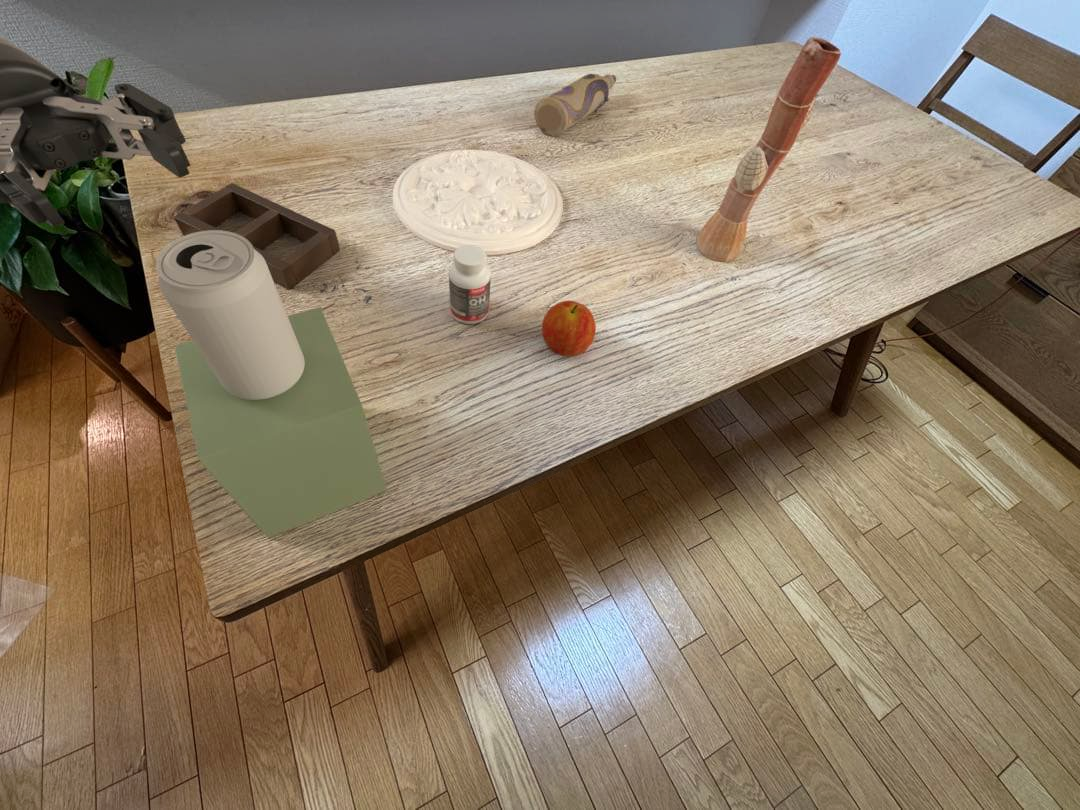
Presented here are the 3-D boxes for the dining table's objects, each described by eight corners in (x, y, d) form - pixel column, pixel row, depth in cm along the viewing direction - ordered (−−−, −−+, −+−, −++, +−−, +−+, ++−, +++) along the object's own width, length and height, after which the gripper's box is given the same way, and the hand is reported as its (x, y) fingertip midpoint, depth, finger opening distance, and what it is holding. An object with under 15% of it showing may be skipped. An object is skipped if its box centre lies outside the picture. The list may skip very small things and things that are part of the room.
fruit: (528, 344, 69) (534, 300, 62) (563, 320, 72) (573, 276, 66) (565, 375, 66) (575, 333, 60) (600, 349, 70) (613, 307, 63)
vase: (708, 266, 83) (808, 57, 58) (684, 238, 86) (768, 30, 62) (759, 254, 86) (874, 52, 62) (733, 228, 90) (832, 27, 65)
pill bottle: (475, 331, 69) (475, 275, 61) (442, 314, 70) (438, 257, 62) (496, 308, 72) (499, 251, 64) (464, 292, 73) (463, 234, 65)
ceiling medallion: (586, 187, 92) (590, 171, 89) (517, 278, 76) (519, 261, 73) (449, 138, 96) (448, 120, 93) (357, 214, 80) (353, 195, 78)
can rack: (289, 290, 70) (282, 270, 67) (184, 238, 73) (172, 216, 70) (340, 250, 75) (335, 230, 72) (240, 203, 79) (231, 182, 76)
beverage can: (252, 336, 44) (191, 215, 35) (322, 356, 44) (279, 239, 34) (205, 392, 41) (122, 274, 31) (281, 414, 40) (220, 302, 31)
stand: (387, 490, 55) (361, 404, 42) (268, 538, 50) (198, 459, 37) (353, 405, 60) (320, 306, 47) (242, 442, 56) (174, 345, 43)
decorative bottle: (562, 143, 99) (567, 107, 94) (531, 129, 101) (534, 92, 96) (626, 100, 113) (634, 66, 107) (597, 88, 115) (603, 54, 109)
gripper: (-169, 66, 33) (-51, 175, 28) (71, 17, 40) (195, 97, 36) (-69, 176, 39) (41, 280, 34) (123, 116, 46) (235, 195, 42)
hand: (119, 187), depth 35 cm, fingers open, 8 cm apart
